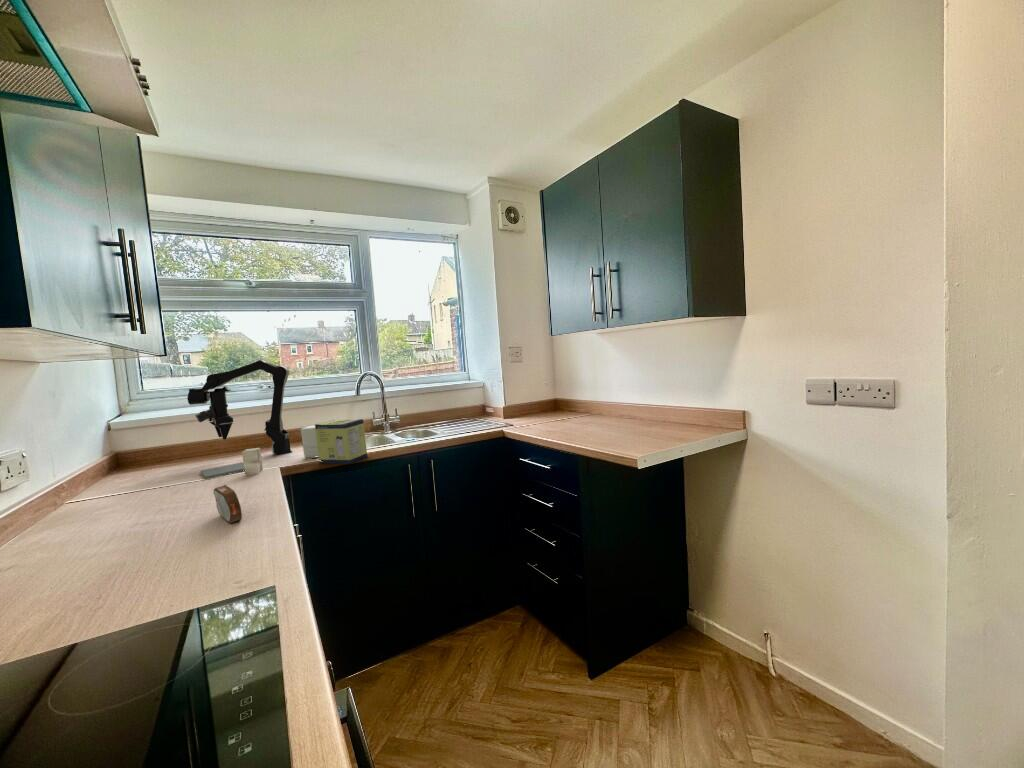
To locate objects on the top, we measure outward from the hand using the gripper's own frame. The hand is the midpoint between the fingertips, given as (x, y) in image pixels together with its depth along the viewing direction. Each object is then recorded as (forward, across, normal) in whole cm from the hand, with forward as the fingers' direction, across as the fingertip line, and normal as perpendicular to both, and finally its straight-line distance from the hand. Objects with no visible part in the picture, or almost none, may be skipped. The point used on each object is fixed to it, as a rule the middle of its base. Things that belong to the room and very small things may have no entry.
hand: (222, 438), depth 186 cm
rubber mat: (+10, +24, -4) cm, 26 cm away
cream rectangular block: (+10, +39, +2) cm, 40 cm away
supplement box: (+9, +32, +28) cm, 43 cm away
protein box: (+9, +52, +31) cm, 61 cm away
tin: (+10, +88, -14) cm, 90 cm away
